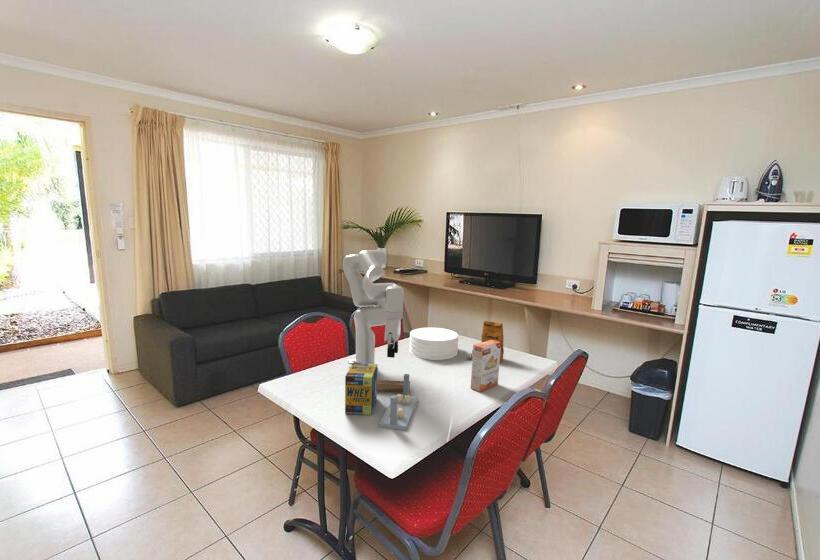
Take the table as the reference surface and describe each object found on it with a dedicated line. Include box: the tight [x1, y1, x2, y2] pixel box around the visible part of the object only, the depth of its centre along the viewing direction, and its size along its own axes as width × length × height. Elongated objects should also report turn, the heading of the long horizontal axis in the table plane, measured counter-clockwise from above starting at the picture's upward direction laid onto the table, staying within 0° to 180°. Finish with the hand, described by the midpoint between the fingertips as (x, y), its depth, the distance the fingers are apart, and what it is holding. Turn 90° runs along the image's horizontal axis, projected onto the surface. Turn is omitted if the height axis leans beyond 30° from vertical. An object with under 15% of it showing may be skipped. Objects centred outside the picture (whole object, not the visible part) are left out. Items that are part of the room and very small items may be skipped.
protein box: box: [344, 363, 378, 416], centre depth 155 cm, size 10×15×16 cm
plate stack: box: [408, 327, 459, 361], centre depth 224 cm, size 28×28×12 cm
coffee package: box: [480, 320, 505, 363], centre depth 213 cm, size 10×12×22 cm
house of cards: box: [465, 349, 473, 362], centre depth 213 cm, size 9×9×8 cm
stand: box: [378, 373, 419, 431], centre depth 150 cm, size 10×24×12 cm, turn 168°
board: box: [377, 379, 411, 394], centre depth 171 cm, size 4×16×4 cm, turn 88°
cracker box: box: [470, 340, 501, 393], centre depth 177 cm, size 14×6×21 cm, turn 133°
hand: (392, 354), depth 169 cm, fingers open, 5 cm apart
